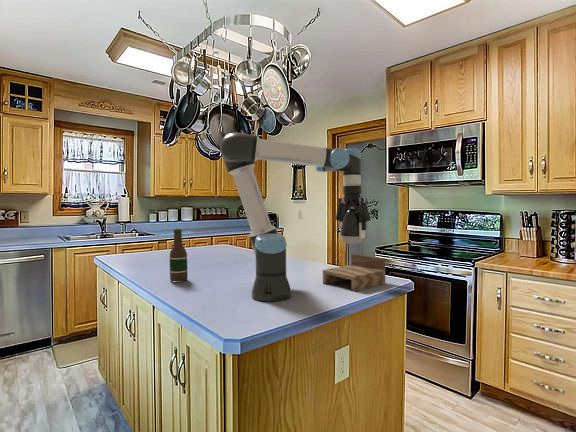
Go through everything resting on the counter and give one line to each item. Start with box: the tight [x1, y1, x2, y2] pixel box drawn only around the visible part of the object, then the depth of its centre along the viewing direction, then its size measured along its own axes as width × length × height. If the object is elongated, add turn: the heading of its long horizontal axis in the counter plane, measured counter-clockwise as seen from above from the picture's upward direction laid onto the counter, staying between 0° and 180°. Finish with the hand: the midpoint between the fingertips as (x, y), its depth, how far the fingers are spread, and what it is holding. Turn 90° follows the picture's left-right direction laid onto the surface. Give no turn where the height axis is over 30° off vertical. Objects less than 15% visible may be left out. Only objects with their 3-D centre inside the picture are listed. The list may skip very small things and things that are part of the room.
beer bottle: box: [169, 228, 189, 282], centre depth 165 cm, size 8×8×24 cm
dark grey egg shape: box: [339, 207, 364, 245], centre depth 153 cm, size 10×10×15 cm
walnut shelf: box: [322, 253, 386, 293], centre depth 154 cm, size 20×18×11 cm
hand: (352, 237), depth 153 cm, fingers closed on dark grey egg shape, 10 cm apart
